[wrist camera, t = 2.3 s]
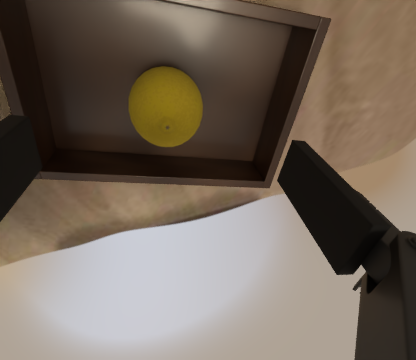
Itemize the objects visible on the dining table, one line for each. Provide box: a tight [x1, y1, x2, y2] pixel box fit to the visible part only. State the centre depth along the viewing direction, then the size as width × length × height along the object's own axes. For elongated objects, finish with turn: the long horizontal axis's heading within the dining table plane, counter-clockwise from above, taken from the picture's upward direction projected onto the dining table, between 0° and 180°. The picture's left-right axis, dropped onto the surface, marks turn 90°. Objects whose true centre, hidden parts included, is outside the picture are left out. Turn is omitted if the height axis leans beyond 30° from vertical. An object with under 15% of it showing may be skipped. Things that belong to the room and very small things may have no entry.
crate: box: [0, 0, 331, 188], centre depth 20 cm, size 22×15×4 cm
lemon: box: [129, 66, 203, 147], centre depth 19 cm, size 6×6×8 cm
